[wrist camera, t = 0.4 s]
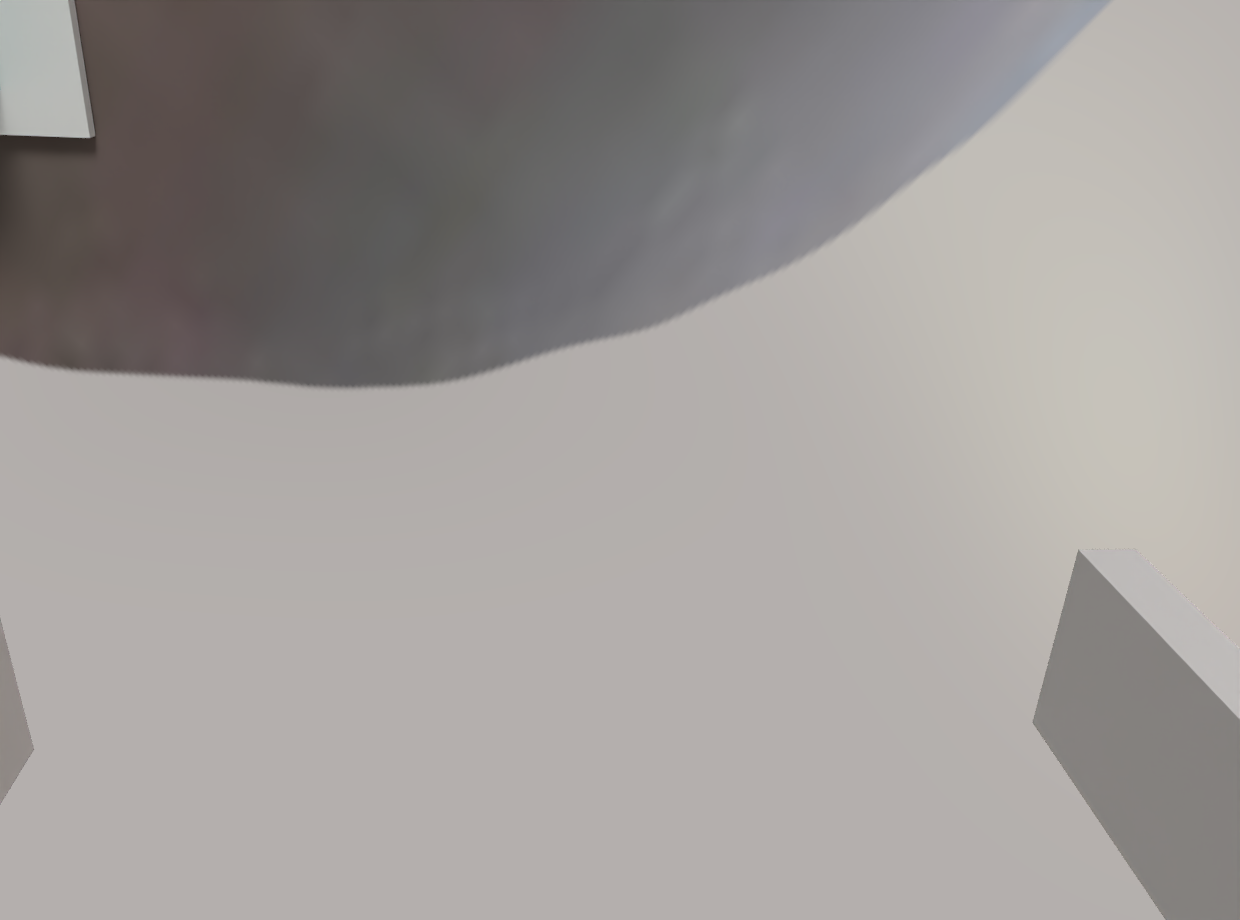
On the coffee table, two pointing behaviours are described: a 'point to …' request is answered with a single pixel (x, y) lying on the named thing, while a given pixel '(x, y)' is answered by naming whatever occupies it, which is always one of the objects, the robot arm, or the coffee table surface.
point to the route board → (42, 71)
